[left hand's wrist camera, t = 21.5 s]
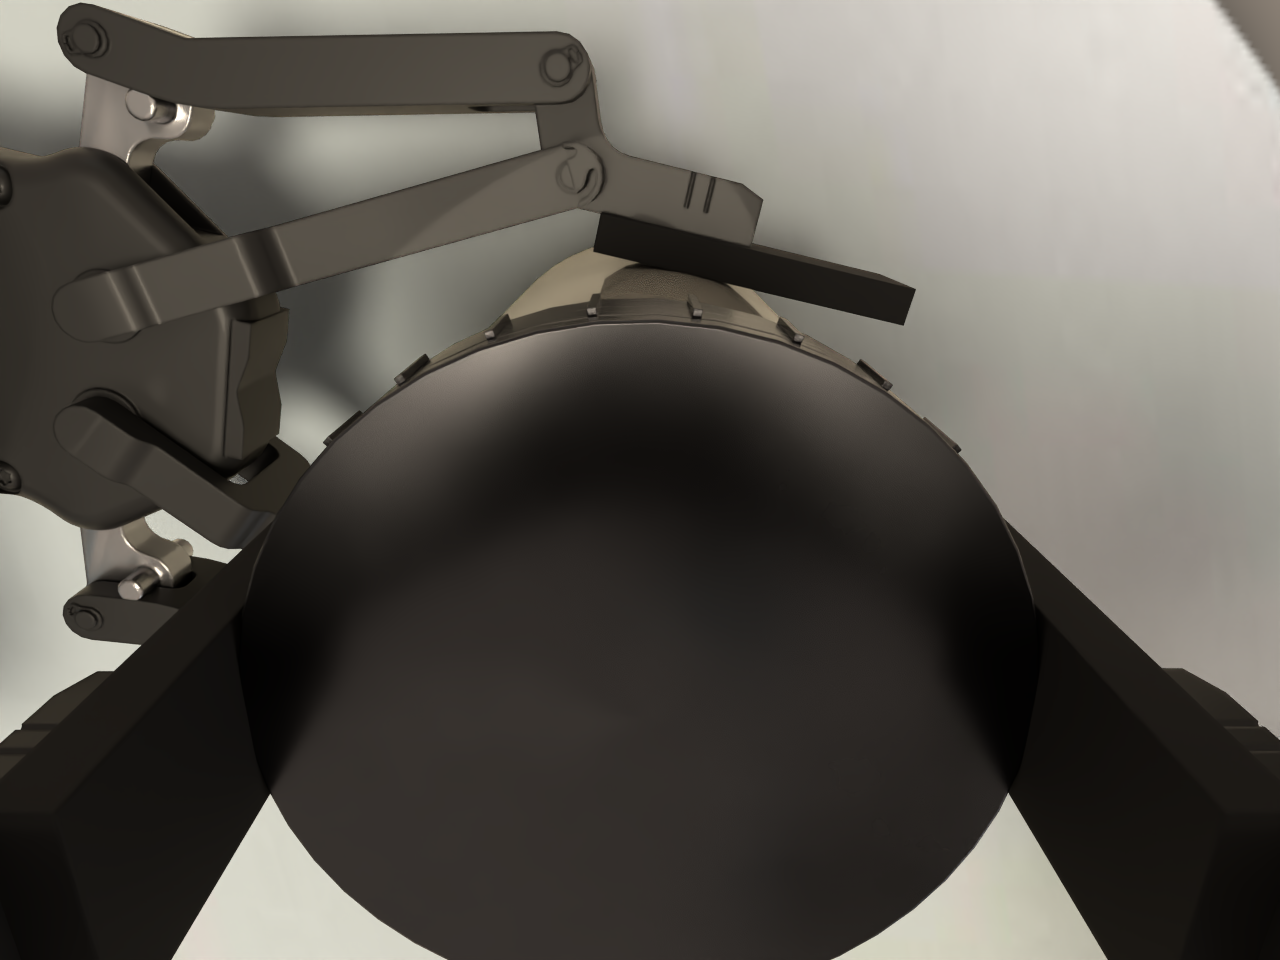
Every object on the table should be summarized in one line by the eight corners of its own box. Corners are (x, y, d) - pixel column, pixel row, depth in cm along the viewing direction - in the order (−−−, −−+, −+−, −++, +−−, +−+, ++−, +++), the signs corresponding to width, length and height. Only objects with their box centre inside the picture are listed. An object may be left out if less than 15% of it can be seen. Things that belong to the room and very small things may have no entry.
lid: (665, 104, 9) (670, 91, 8) (1128, 662, 12) (1203, 737, 10) (142, 627, 12) (65, 697, 10) (623, 999, 14) (621, 1102, 13)
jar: (429, 352, 25) (147, 591, 11) (685, 173, 23) (759, 173, 9) (600, 579, 28) (558, 1013, 13) (842, 434, 26) (1092, 755, 12)
